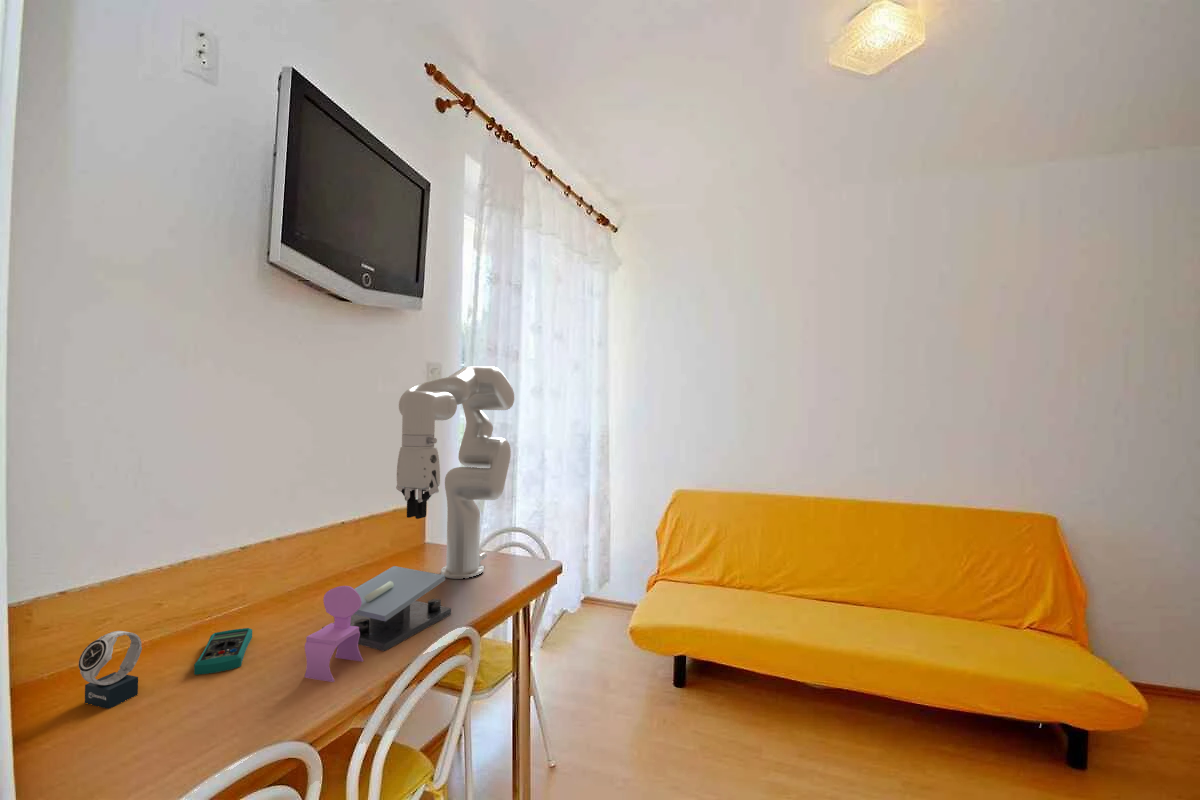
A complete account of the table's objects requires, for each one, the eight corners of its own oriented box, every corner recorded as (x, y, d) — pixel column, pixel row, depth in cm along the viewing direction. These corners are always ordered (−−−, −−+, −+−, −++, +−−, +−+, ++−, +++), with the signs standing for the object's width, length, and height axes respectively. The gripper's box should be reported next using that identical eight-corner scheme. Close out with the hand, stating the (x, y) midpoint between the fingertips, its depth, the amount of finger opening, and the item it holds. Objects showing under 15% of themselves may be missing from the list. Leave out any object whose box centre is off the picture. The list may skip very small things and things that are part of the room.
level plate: (394, 570, 133) (393, 559, 133) (445, 579, 127) (444, 568, 127) (329, 608, 116) (328, 596, 116) (385, 621, 110) (384, 608, 109)
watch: (70, 710, 86) (71, 642, 86) (125, 684, 94) (127, 622, 94) (95, 715, 85) (96, 647, 85) (149, 689, 93) (150, 626, 93)
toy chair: (297, 678, 97) (299, 596, 97) (332, 656, 106) (333, 581, 106) (336, 684, 95) (338, 601, 96) (368, 661, 104) (370, 585, 104)
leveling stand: (393, 601, 135) (394, 576, 135) (451, 614, 128) (451, 587, 128) (321, 634, 115) (322, 604, 115) (384, 651, 108) (385, 619, 108)
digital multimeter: (192, 679, 97) (192, 663, 97) (211, 645, 110) (211, 631, 110) (240, 671, 100) (240, 655, 100) (252, 639, 114) (253, 625, 114)
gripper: (454, 442, 129) (452, 517, 129) (404, 439, 136) (402, 511, 136) (433, 444, 122) (431, 523, 122) (381, 441, 129) (380, 516, 129)
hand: (416, 516), depth 129 cm, fingers closed
